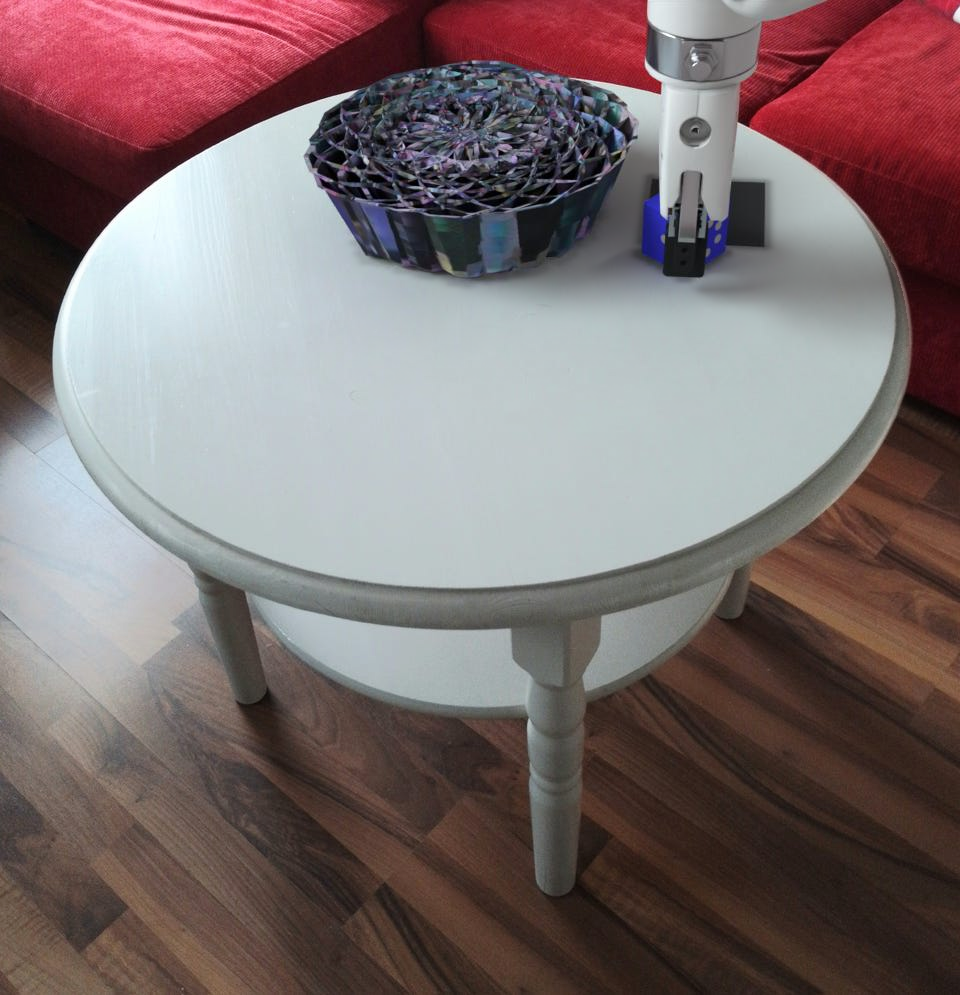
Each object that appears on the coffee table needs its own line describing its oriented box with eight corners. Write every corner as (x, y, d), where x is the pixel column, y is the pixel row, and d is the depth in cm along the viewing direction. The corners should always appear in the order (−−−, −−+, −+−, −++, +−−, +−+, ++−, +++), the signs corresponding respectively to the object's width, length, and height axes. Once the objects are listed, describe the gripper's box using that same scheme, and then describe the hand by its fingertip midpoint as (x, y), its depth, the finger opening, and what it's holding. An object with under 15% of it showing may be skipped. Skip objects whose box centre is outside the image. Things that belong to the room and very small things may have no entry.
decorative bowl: (404, 144, 111) (384, 47, 104) (671, 159, 101) (669, 53, 95) (285, 290, 95) (252, 187, 88) (589, 324, 86) (579, 211, 79)
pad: (764, 183, 99) (764, 182, 98) (764, 247, 92) (764, 246, 92) (652, 179, 100) (652, 178, 100) (643, 242, 94) (643, 241, 93)
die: (640, 253, 92) (642, 201, 89) (680, 229, 94) (684, 177, 91) (685, 278, 89) (689, 225, 86) (725, 252, 92) (731, 199, 88)
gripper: (760, 97, 68) (730, 333, 81) (759, -5, 78) (732, 220, 91) (638, 95, 69) (628, 327, 82) (652, -5, 79) (641, 216, 92)
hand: (683, 270), depth 87 cm, fingers closed
